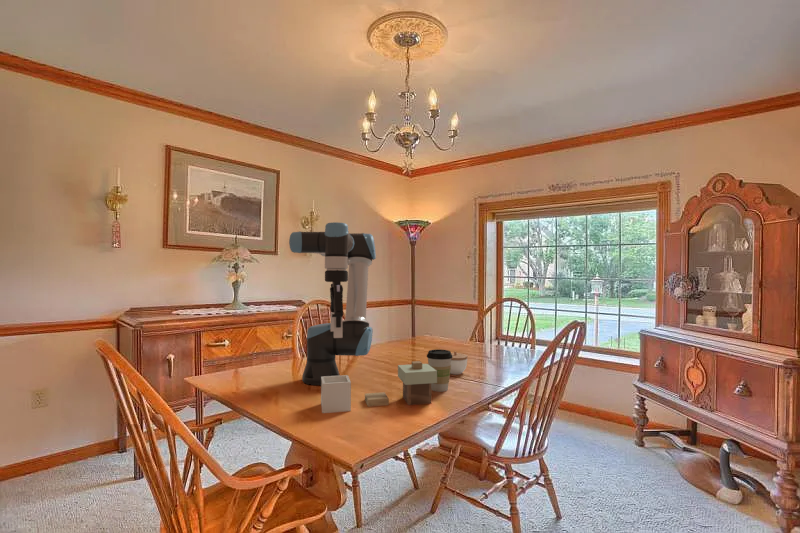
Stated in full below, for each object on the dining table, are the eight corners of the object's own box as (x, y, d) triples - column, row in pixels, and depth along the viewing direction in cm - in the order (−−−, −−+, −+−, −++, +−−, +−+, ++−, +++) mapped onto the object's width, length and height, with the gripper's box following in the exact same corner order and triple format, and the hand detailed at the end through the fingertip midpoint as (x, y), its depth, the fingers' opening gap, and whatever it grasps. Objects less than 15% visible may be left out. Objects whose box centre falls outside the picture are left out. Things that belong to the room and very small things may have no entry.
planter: (320, 406, 139) (321, 376, 139) (347, 404, 141) (347, 375, 141) (322, 415, 130) (322, 383, 130) (350, 413, 132) (350, 382, 132)
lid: (397, 376, 147) (397, 359, 147) (427, 374, 150) (427, 358, 150) (405, 384, 136) (405, 366, 136) (437, 382, 139) (437, 365, 139)
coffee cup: (451, 395, 151) (451, 354, 151) (424, 394, 153) (424, 353, 153) (453, 388, 160) (453, 349, 160) (428, 386, 162) (428, 348, 162)
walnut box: (402, 399, 146) (402, 377, 146) (424, 398, 148) (424, 375, 148) (408, 407, 138) (408, 383, 138) (431, 405, 140) (431, 381, 140)
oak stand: (364, 402, 143) (364, 393, 143) (384, 400, 145) (384, 392, 145) (367, 408, 136) (367, 399, 136) (388, 407, 138) (388, 398, 138)
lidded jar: (469, 375, 179) (469, 354, 179) (444, 375, 179) (444, 354, 179) (465, 369, 190) (465, 349, 190) (442, 369, 190) (442, 349, 190)
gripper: (352, 269, 124) (352, 340, 124) (344, 269, 149) (343, 328, 149) (327, 269, 123) (327, 341, 123) (322, 269, 147) (322, 329, 147)
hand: (336, 334), depth 136 cm, fingers open, 13 cm apart
